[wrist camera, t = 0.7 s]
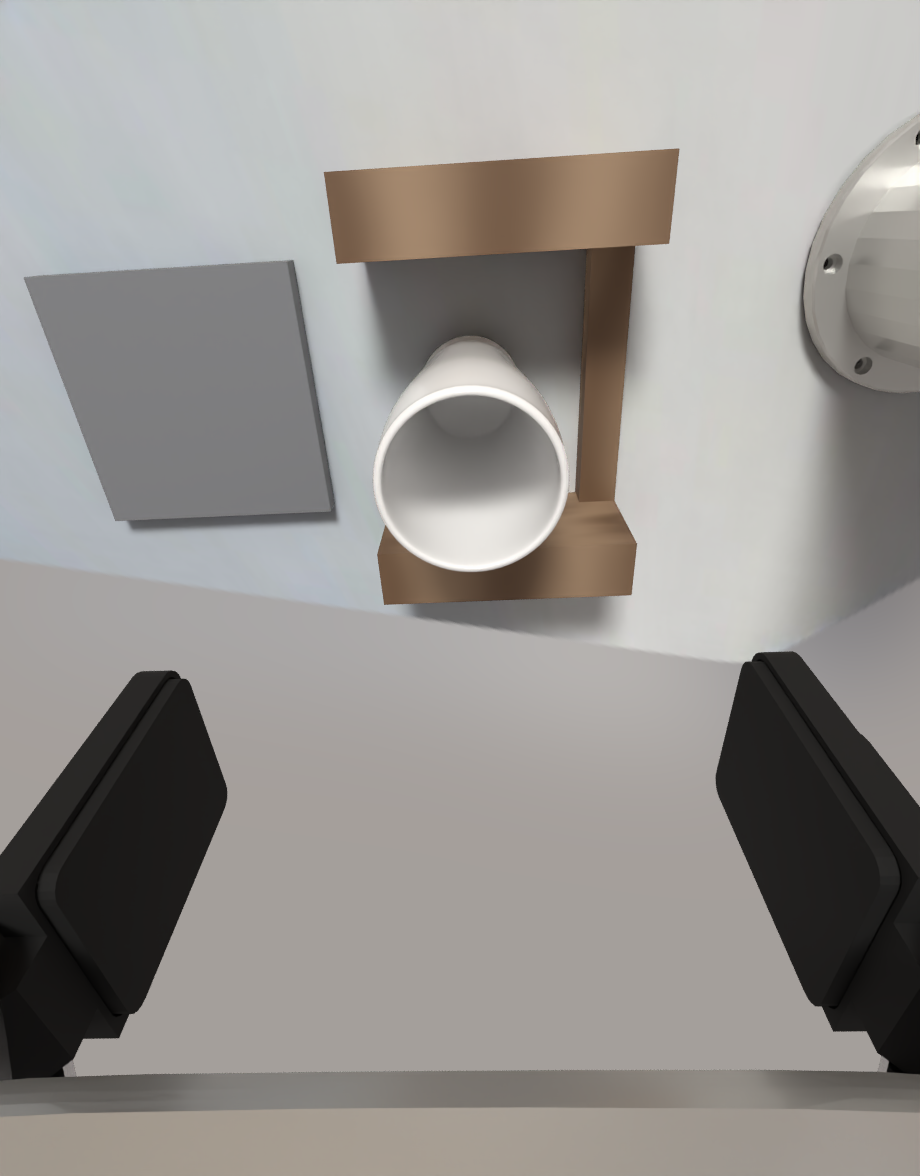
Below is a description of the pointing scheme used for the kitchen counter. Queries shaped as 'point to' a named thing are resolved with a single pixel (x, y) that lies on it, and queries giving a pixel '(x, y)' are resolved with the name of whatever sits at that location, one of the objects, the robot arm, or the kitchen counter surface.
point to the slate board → (191, 388)
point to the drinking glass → (470, 461)
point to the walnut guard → (609, 233)
